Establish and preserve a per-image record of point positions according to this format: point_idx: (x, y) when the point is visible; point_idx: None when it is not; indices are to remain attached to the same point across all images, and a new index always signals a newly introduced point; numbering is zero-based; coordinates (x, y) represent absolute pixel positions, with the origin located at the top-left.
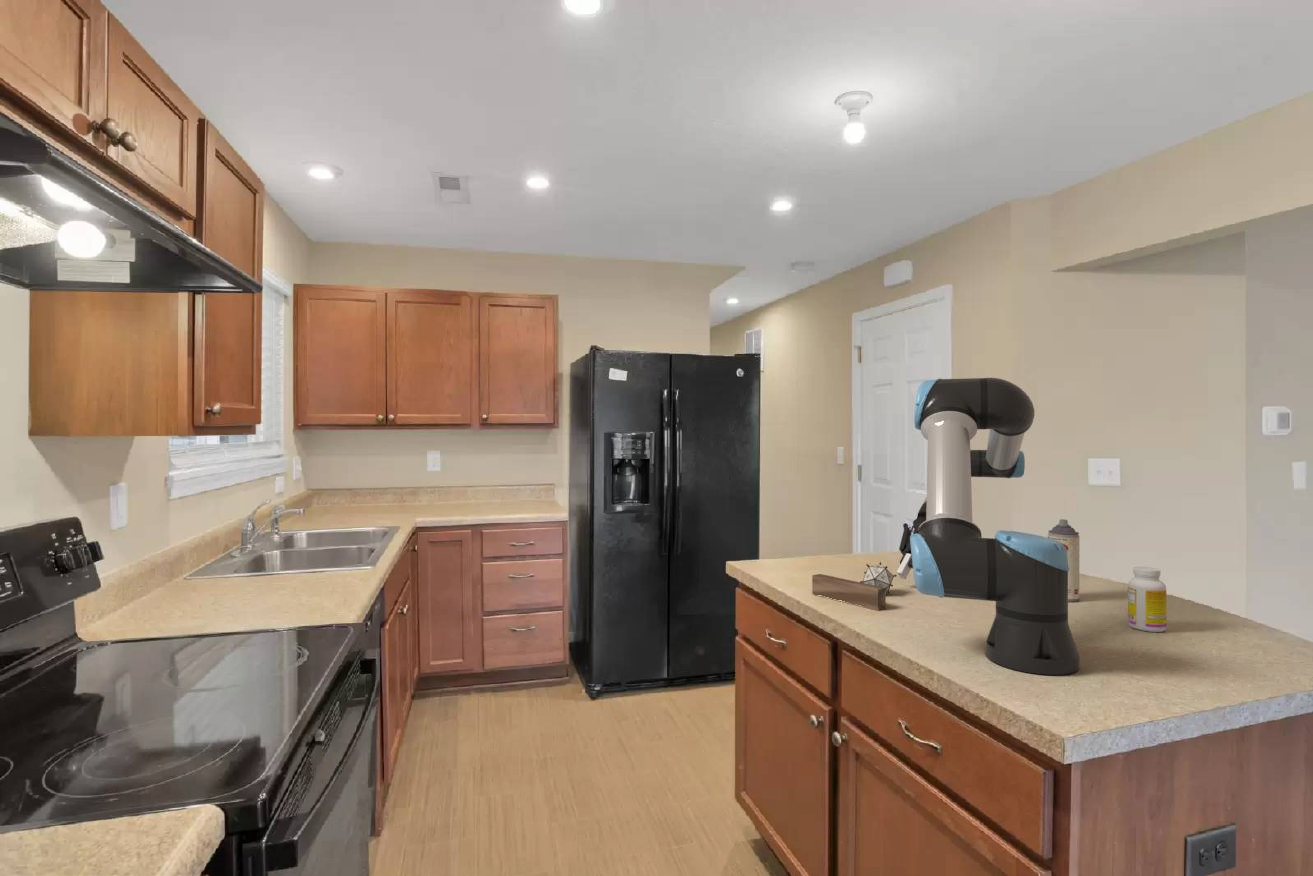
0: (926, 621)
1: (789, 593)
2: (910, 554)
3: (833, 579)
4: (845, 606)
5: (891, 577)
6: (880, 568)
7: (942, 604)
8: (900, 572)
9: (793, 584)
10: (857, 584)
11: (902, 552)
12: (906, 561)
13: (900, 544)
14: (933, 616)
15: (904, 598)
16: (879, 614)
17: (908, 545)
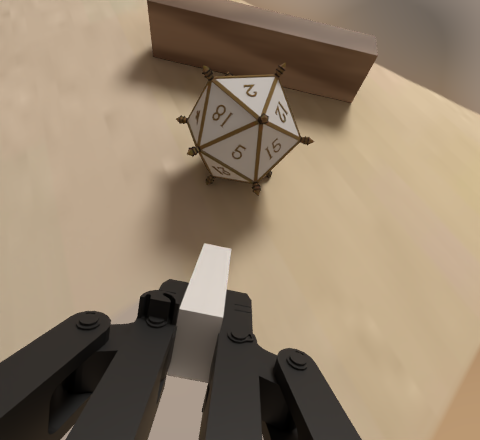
0: (40, 18)
1: (388, 71)
2: (186, 307)
3: (305, 20)
4: None
5: (195, 128)
6: (229, 77)
7: (14, 158)
8: (210, 245)
9: (458, 139)
10: (226, 3)
11: (273, 356)
12: (199, 276)
13: (337, 404)
14: (28, 51)
15: (146, 162)
16: (149, 23)
17: (244, 391)
